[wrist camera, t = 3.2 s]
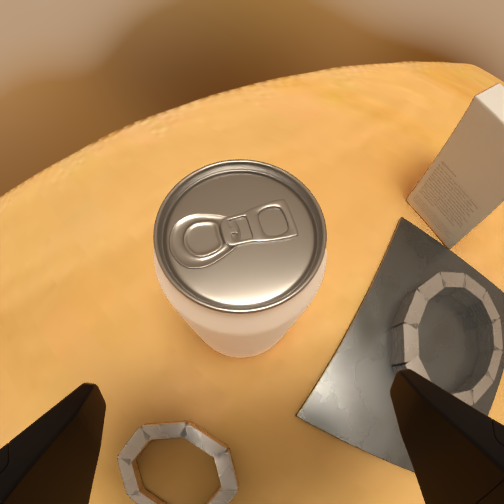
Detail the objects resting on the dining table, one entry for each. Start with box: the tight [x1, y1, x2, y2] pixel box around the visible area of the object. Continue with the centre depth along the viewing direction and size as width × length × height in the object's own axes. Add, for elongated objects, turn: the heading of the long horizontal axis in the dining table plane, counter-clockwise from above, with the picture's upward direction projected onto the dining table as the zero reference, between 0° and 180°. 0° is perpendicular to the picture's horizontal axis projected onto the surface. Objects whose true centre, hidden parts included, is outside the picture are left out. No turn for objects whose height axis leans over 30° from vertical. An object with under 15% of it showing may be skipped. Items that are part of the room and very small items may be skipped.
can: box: [153, 160, 327, 358], centre depth 15 cm, size 6×6×12 cm
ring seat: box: [296, 217, 504, 472], centre depth 18 cm, size 18×16×2 cm
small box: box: [406, 83, 504, 249], centre depth 19 cm, size 8×6×13 cm
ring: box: [117, 421, 238, 504], centre depth 15 cm, size 8×8×1 cm
